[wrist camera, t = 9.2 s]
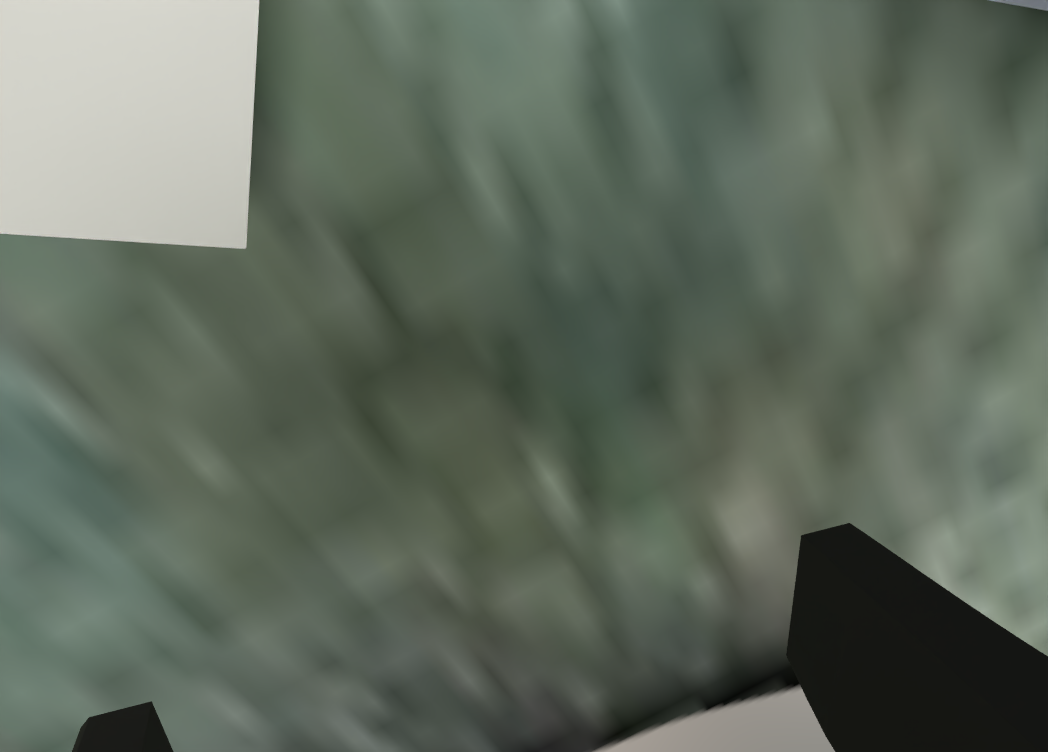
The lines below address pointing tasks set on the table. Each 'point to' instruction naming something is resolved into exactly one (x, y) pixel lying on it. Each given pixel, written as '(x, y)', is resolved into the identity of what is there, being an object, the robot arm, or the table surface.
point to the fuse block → (127, 119)
